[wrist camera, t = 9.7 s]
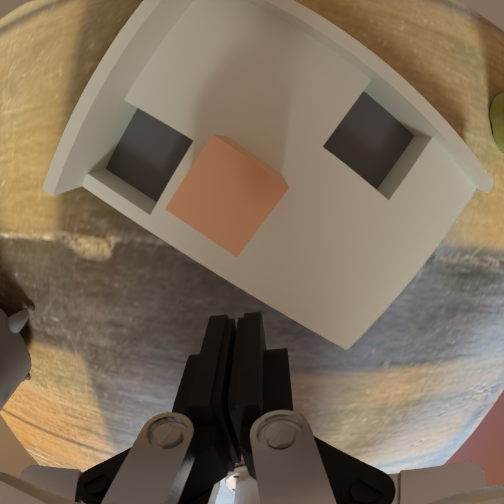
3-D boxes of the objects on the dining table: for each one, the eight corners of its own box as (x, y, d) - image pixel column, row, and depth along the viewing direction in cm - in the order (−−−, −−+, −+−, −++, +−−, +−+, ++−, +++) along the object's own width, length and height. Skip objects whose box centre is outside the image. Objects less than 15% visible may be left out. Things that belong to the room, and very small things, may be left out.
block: (281, 174, 18) (289, 187, 13) (243, 227, 19) (236, 257, 14) (226, 136, 17) (213, 134, 12) (189, 190, 18) (164, 209, 13)
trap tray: (461, 172, 20) (512, 188, 13) (339, 329, 25) (357, 380, 19) (212, -12, 15) (195, -56, 9) (92, 173, 21) (42, 188, 15)
